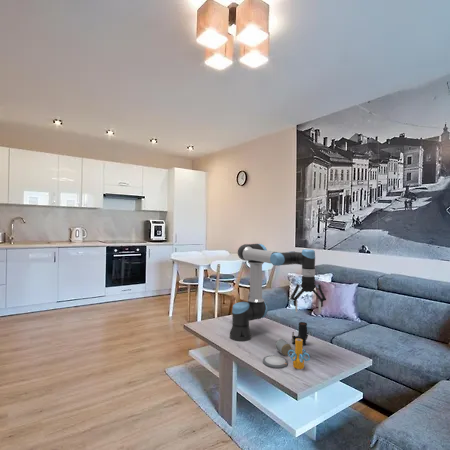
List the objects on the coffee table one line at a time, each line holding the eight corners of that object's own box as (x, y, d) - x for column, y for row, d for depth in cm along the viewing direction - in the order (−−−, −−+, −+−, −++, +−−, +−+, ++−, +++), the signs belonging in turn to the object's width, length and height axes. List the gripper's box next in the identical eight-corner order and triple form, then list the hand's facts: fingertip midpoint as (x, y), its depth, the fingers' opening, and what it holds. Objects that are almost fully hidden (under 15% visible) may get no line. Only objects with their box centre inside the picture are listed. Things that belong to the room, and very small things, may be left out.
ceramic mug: (281, 356, 181) (282, 343, 181) (275, 351, 189) (275, 339, 189) (297, 355, 185) (297, 342, 185) (290, 349, 192) (290, 337, 192)
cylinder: (286, 362, 174) (286, 336, 174) (303, 361, 175) (304, 335, 175) (292, 372, 162) (292, 344, 162) (311, 372, 163) (312, 343, 163)
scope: (291, 322, 202) (303, 320, 207) (291, 343, 202) (303, 341, 207) (299, 326, 195) (311, 324, 199) (299, 347, 195) (311, 345, 199)
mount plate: (258, 363, 172) (258, 361, 172) (269, 355, 183) (269, 353, 183) (281, 370, 164) (281, 368, 164) (291, 361, 175) (291, 359, 175)
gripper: (287, 276, 177) (287, 313, 177) (331, 277, 175) (331, 314, 175) (286, 274, 184) (285, 309, 184) (328, 275, 183) (327, 310, 183)
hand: (308, 312), depth 180 cm, fingers open, 13 cm apart
